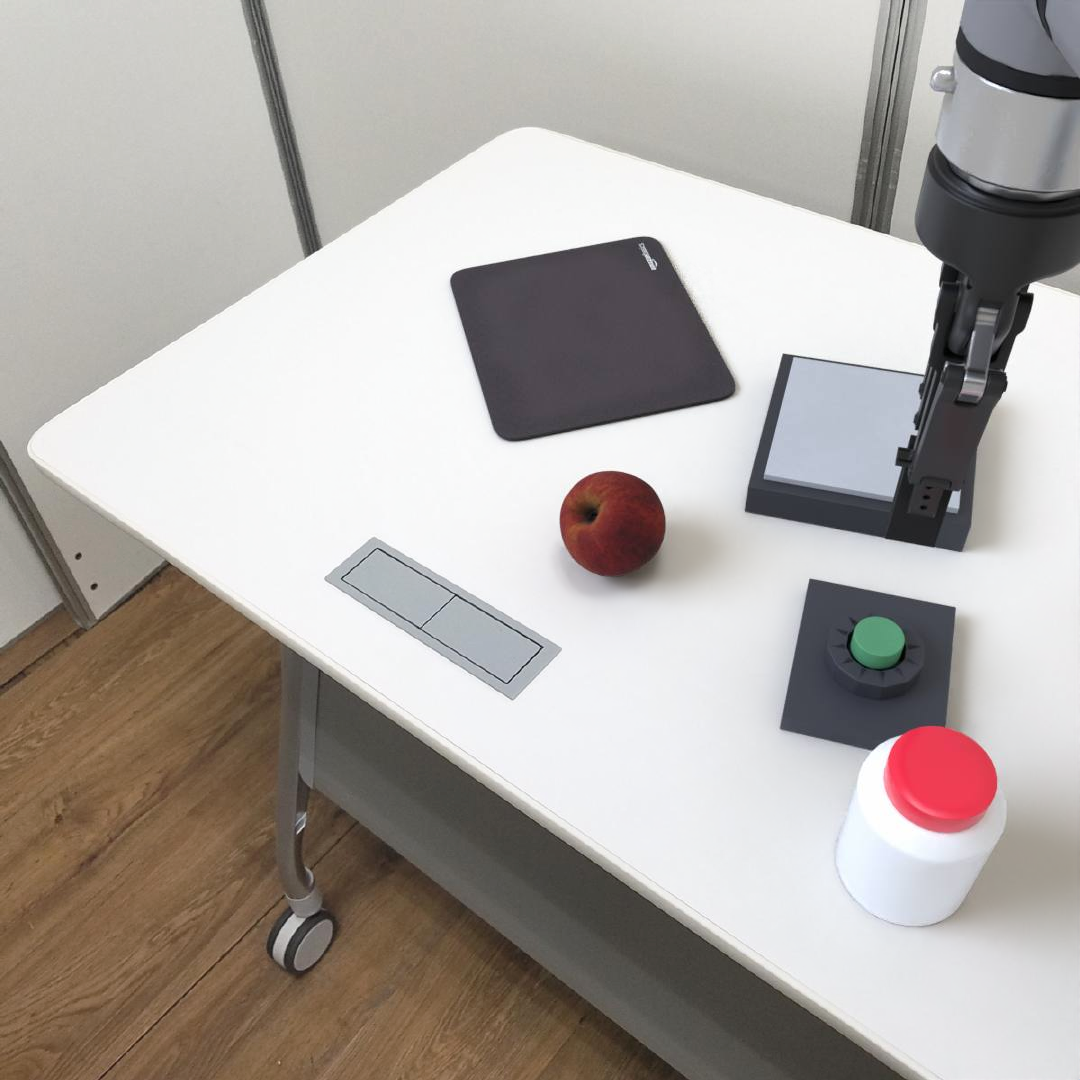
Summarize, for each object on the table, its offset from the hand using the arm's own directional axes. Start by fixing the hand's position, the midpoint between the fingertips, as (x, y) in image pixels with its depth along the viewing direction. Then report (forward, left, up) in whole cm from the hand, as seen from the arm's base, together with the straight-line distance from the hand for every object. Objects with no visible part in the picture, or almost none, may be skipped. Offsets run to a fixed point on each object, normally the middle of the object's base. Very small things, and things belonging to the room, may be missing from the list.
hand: (911, 531), depth 63 cm
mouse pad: (+38, -18, -14) cm, 44 cm away
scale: (+10, -18, -14) cm, 25 cm away
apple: (+20, +2, -15) cm, 25 cm away
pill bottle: (-8, +11, -15) cm, 20 cm away
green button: (0, 0, -12) cm, 12 cm away
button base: (0, 0, -14) cm, 14 cm away
